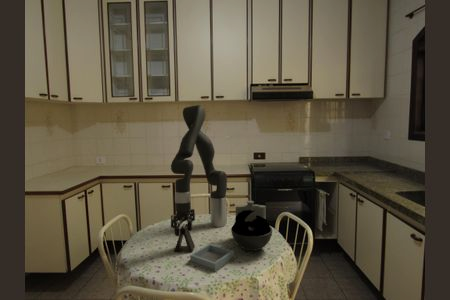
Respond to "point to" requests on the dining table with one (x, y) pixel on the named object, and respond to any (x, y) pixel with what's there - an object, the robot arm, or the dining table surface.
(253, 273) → the dining table surface
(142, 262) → the dining table surface
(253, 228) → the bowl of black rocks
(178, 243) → the phone stand
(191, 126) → the robot arm
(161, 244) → the dining table surface
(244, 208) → the hip flask
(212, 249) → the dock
